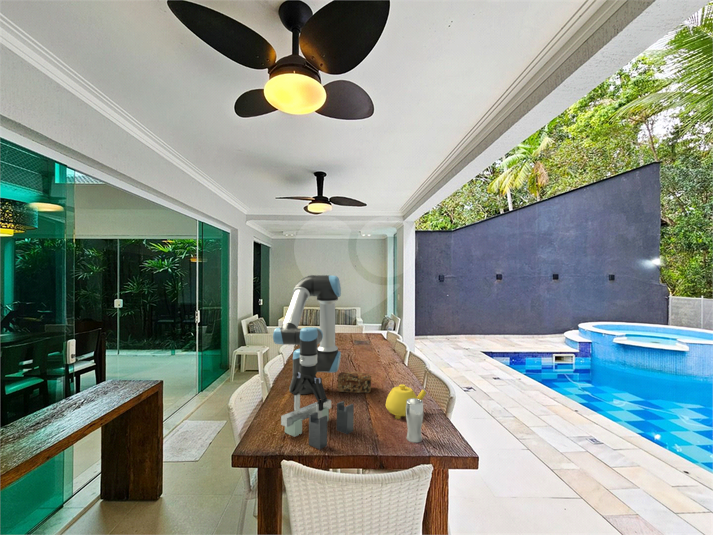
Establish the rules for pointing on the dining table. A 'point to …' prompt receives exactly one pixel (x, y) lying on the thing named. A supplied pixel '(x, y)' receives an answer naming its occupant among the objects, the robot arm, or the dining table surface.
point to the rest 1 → (294, 428)
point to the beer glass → (414, 419)
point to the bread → (354, 382)
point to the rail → (302, 413)
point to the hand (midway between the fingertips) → (307, 413)
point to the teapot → (401, 400)
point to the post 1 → (317, 431)
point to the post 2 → (345, 417)
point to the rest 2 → (325, 413)
